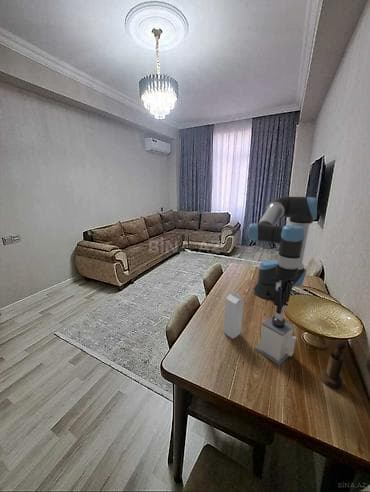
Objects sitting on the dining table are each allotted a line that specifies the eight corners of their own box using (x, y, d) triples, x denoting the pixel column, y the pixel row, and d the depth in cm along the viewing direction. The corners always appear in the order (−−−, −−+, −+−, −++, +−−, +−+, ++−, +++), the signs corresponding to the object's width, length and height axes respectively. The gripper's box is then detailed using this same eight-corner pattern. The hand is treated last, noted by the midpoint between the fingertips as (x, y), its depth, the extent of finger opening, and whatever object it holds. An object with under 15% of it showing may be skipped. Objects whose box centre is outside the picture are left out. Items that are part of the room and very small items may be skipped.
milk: (232, 339, 99) (236, 297, 93) (222, 332, 103) (225, 292, 97) (240, 334, 102) (244, 293, 96) (231, 327, 107) (234, 288, 101)
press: (268, 339, 99) (272, 313, 96) (296, 355, 90) (301, 328, 86) (255, 349, 93) (259, 323, 89) (284, 369, 83) (289, 339, 79)
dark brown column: (316, 373, 81) (325, 334, 76) (331, 372, 82) (342, 333, 77) (329, 389, 75) (340, 348, 70) (345, 388, 75) (358, 347, 70)
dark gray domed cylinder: (271, 339, 95) (275, 313, 91) (284, 347, 91) (289, 319, 87) (264, 345, 92) (268, 318, 88) (277, 353, 87) (282, 325, 83)
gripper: (285, 259, 88) (277, 309, 94) (269, 266, 80) (262, 320, 86) (304, 265, 82) (295, 317, 88) (289, 273, 74) (279, 329, 80)
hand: (278, 318), depth 87 cm, fingers closed
